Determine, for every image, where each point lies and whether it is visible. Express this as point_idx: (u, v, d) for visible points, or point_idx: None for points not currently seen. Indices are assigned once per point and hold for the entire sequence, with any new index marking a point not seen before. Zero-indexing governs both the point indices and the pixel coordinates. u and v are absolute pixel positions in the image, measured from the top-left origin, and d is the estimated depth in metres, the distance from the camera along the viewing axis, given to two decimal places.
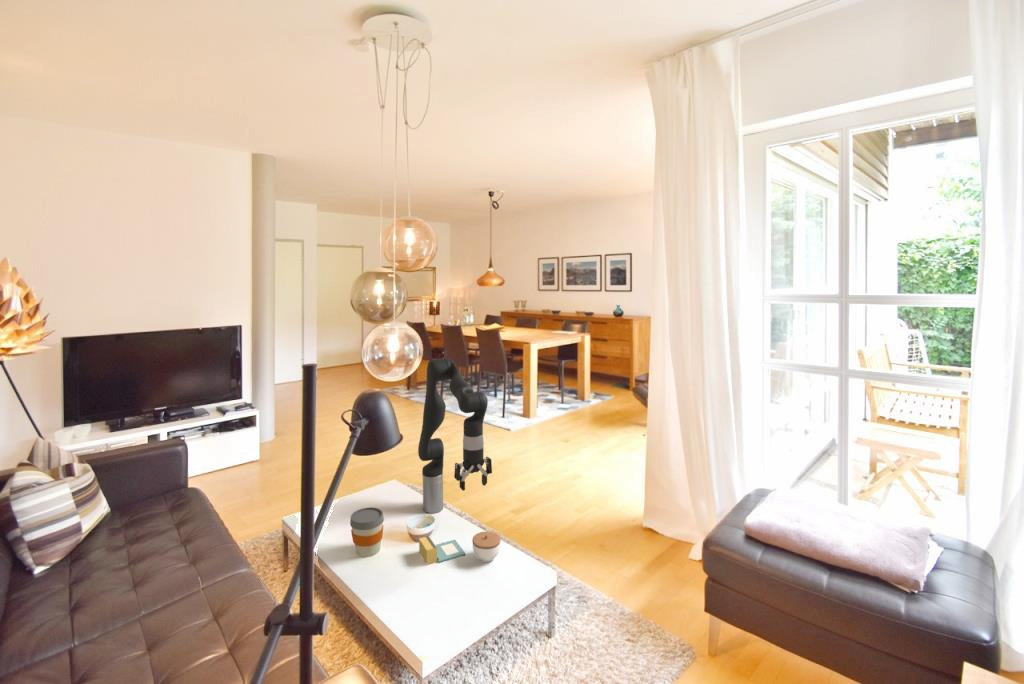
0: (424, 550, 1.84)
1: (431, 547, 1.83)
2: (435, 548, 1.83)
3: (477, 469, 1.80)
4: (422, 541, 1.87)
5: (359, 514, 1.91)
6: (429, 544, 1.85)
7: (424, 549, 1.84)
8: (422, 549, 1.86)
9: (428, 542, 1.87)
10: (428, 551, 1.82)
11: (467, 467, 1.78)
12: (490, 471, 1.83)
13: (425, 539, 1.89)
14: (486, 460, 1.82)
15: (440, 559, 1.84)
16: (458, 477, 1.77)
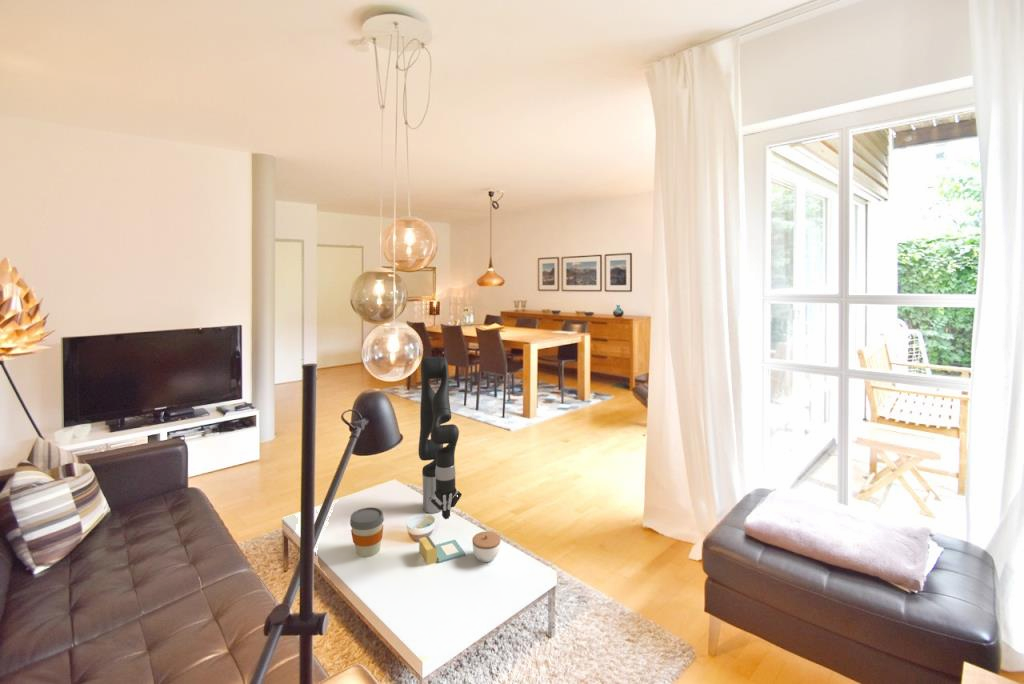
0: (424, 550, 1.84)
1: (431, 547, 1.83)
2: (435, 548, 1.83)
3: (446, 497, 1.86)
4: (422, 541, 1.87)
5: (359, 514, 1.91)
6: (429, 544, 1.85)
7: (424, 549, 1.84)
8: (422, 549, 1.86)
9: (428, 542, 1.87)
10: (428, 551, 1.82)
11: (441, 498, 1.85)
12: (453, 504, 1.88)
13: (425, 539, 1.89)
14: (457, 493, 1.89)
15: (440, 559, 1.84)
16: (439, 507, 1.85)
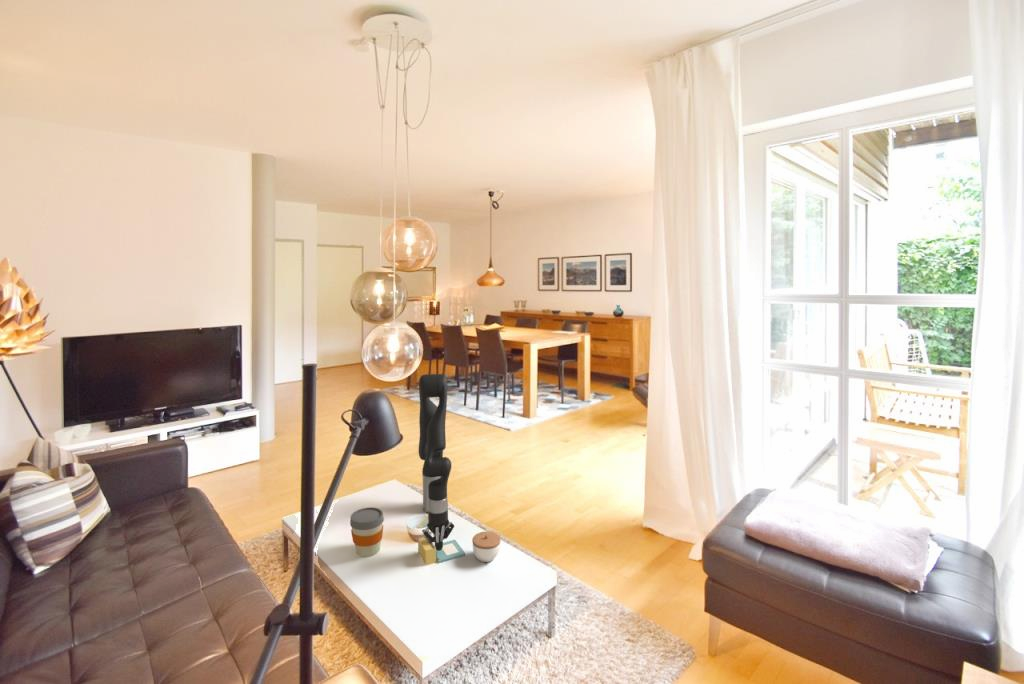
0: (423, 550, 1.84)
1: (430, 547, 1.83)
2: (434, 548, 1.83)
3: (439, 529, 1.86)
4: (421, 541, 1.87)
5: (359, 514, 1.91)
6: (428, 544, 1.85)
7: (423, 549, 1.83)
8: (421, 550, 1.86)
9: (427, 542, 1.86)
10: (427, 551, 1.82)
11: (433, 531, 1.85)
12: (446, 536, 1.88)
13: (424, 539, 1.88)
14: (450, 524, 1.89)
15: (440, 559, 1.84)
16: (432, 539, 1.85)
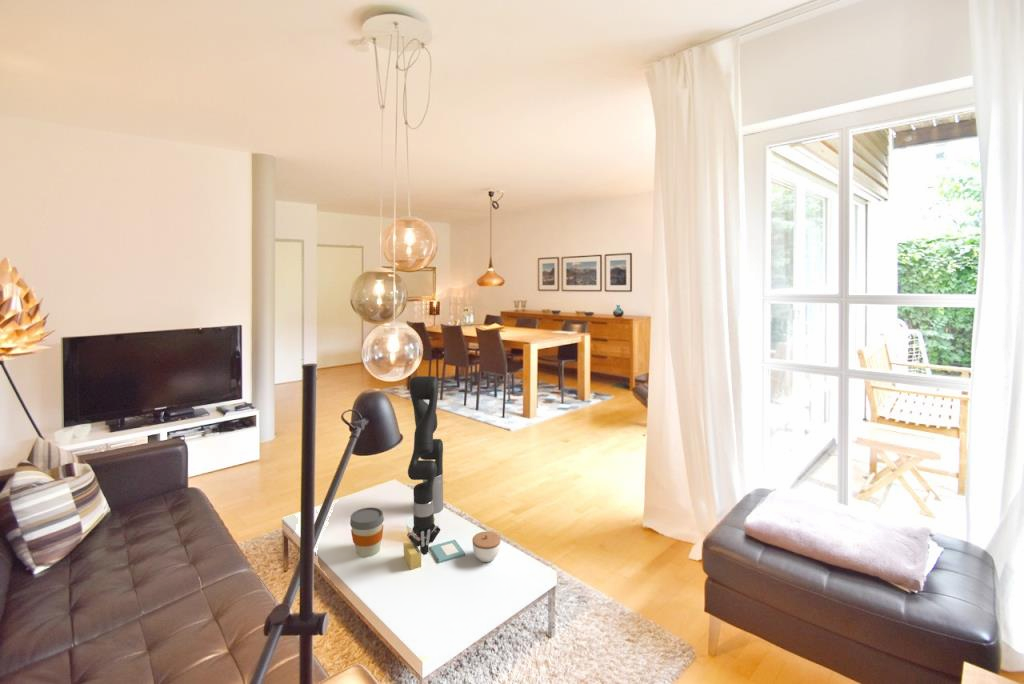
0: (408, 555, 1.81)
1: (415, 551, 1.80)
2: (419, 553, 1.80)
3: (424, 533, 1.84)
4: (406, 545, 1.84)
5: (359, 514, 1.91)
6: (413, 548, 1.82)
7: (408, 554, 1.81)
8: (406, 554, 1.83)
9: (412, 546, 1.84)
10: (412, 556, 1.79)
11: (419, 535, 1.82)
12: (431, 540, 1.85)
13: (409, 543, 1.86)
14: (436, 528, 1.86)
15: (440, 559, 1.84)
16: (417, 543, 1.83)
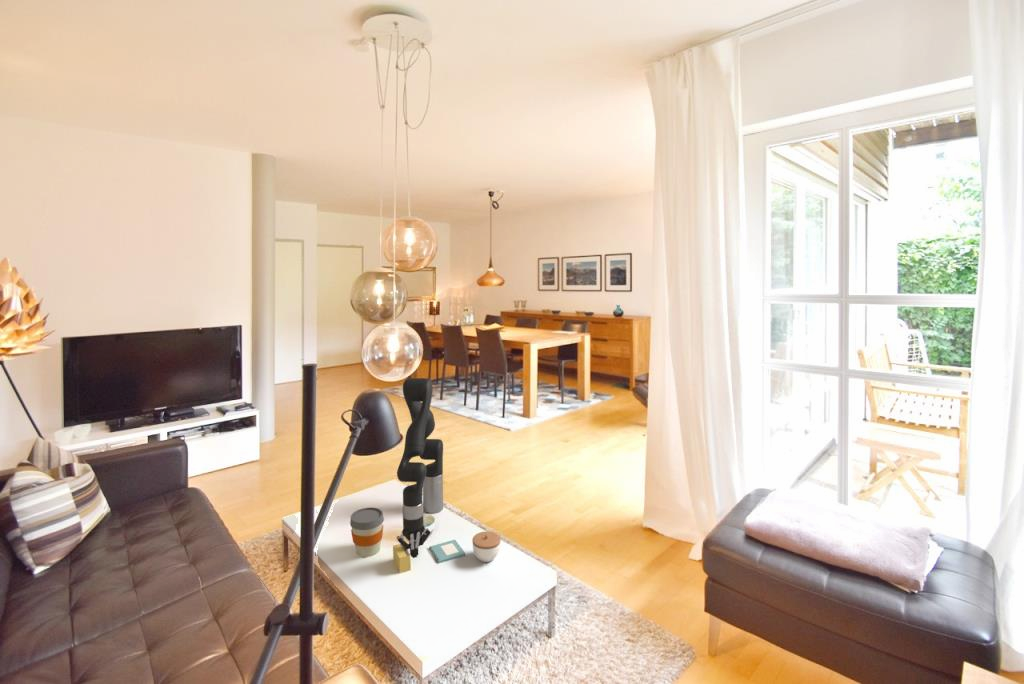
0: (397, 558, 1.79)
1: (404, 554, 1.78)
2: (408, 556, 1.78)
3: (414, 536, 1.82)
4: (396, 548, 1.82)
5: (359, 514, 1.91)
6: (403, 551, 1.80)
7: (397, 557, 1.79)
8: (395, 557, 1.81)
9: (402, 549, 1.82)
10: (401, 559, 1.77)
11: (408, 537, 1.81)
12: (421, 543, 1.83)
13: (399, 546, 1.84)
14: (425, 531, 1.84)
15: (440, 559, 1.84)
16: (406, 546, 1.81)
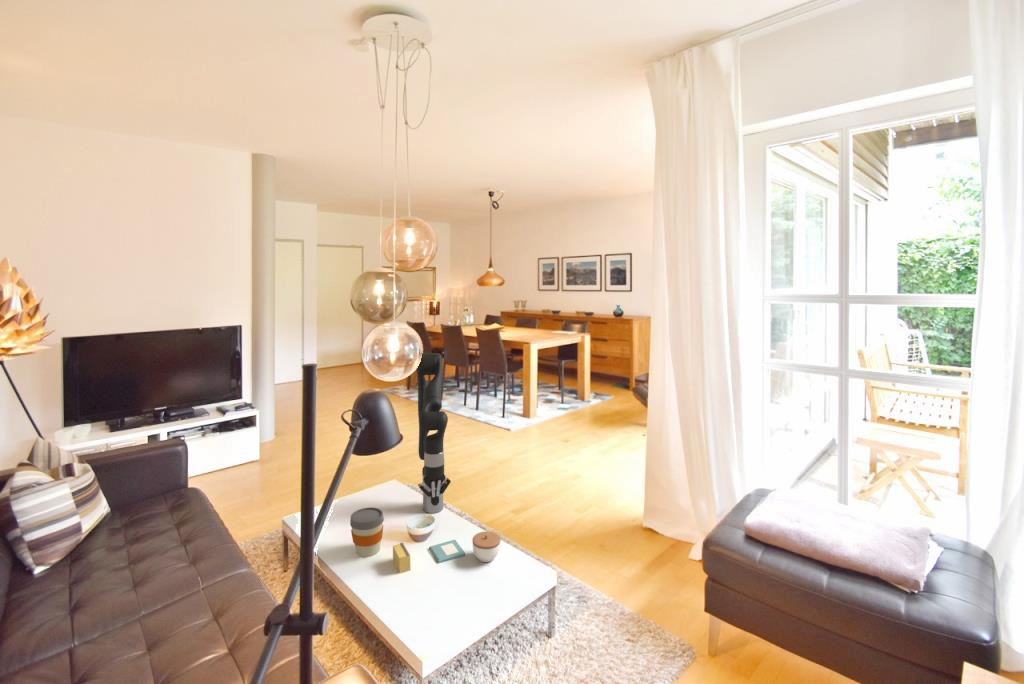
0: (397, 558, 1.79)
1: (404, 555, 1.78)
2: (408, 556, 1.78)
3: (435, 484, 1.85)
4: (395, 548, 1.82)
5: (359, 514, 1.91)
6: (402, 551, 1.80)
7: (397, 557, 1.79)
8: (395, 557, 1.81)
9: (402, 549, 1.82)
10: (401, 559, 1.77)
11: (429, 485, 1.84)
12: (442, 491, 1.87)
13: (399, 546, 1.84)
14: (446, 479, 1.88)
15: (440, 559, 1.84)
16: (428, 494, 1.84)
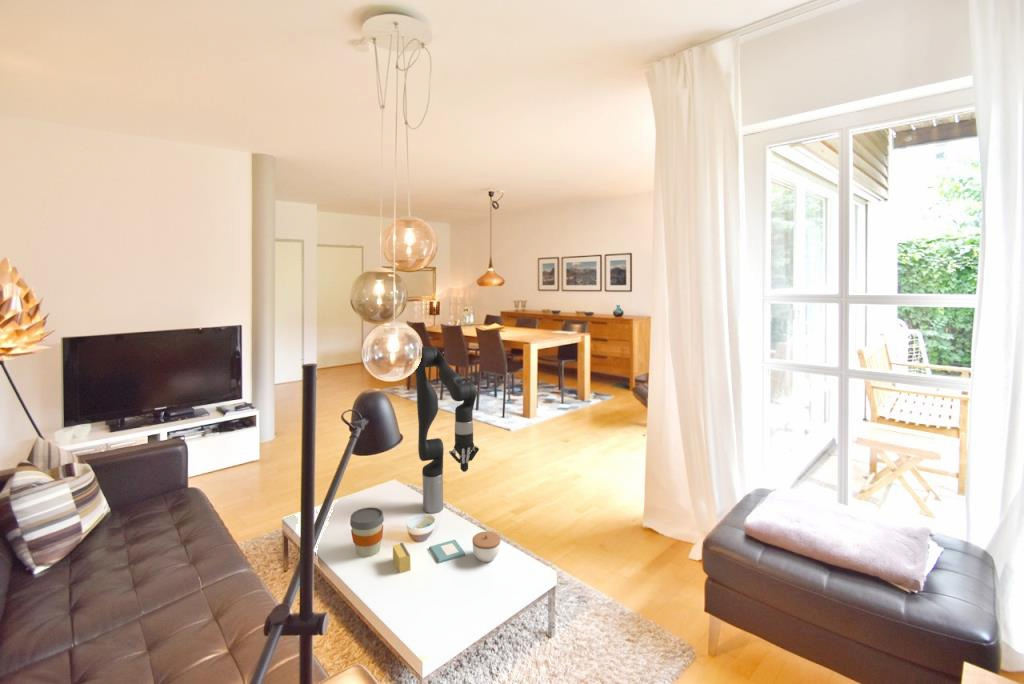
0: (397, 558, 1.79)
1: (404, 555, 1.78)
2: (408, 556, 1.78)
3: (465, 451, 1.99)
4: (395, 548, 1.82)
5: (359, 514, 1.91)
6: (402, 551, 1.80)
7: (397, 557, 1.79)
8: (395, 557, 1.81)
9: (402, 549, 1.82)
10: (401, 559, 1.77)
11: (459, 452, 1.98)
12: (471, 458, 2.01)
13: (399, 546, 1.84)
14: (474, 447, 2.02)
15: (440, 559, 1.84)
16: (458, 460, 1.98)
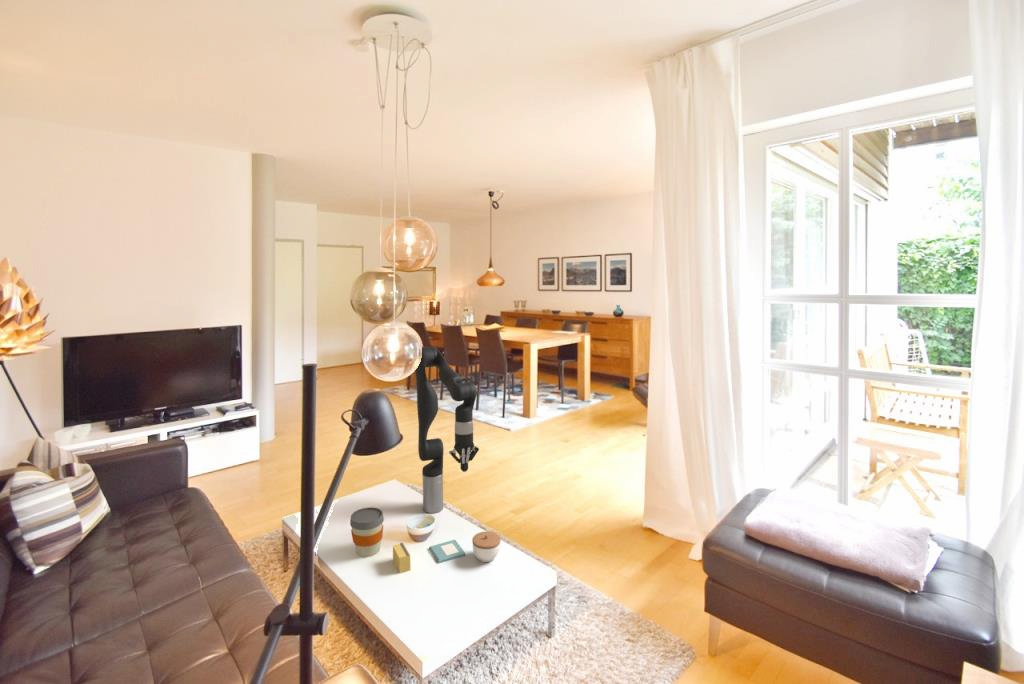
0: (397, 558, 1.79)
1: (404, 555, 1.78)
2: (408, 556, 1.78)
3: (465, 451, 1.99)
4: (395, 548, 1.82)
5: (359, 514, 1.91)
6: (402, 551, 1.80)
7: (397, 557, 1.79)
8: (395, 557, 1.81)
9: (402, 549, 1.82)
10: (401, 559, 1.77)
11: (459, 452, 1.98)
12: (471, 458, 2.01)
13: (399, 546, 1.84)
14: (474, 447, 2.02)
15: (440, 559, 1.84)
16: (458, 460, 1.98)
